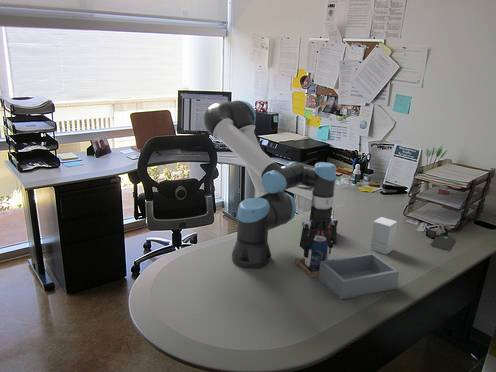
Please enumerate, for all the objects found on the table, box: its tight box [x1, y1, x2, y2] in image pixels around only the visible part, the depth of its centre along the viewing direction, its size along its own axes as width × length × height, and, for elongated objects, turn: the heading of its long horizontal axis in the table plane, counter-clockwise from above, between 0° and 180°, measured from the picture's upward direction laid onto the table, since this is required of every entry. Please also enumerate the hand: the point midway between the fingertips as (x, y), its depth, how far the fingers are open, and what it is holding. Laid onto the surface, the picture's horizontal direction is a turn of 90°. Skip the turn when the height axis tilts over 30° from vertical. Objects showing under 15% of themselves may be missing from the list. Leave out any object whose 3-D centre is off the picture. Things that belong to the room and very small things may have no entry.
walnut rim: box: [294, 257, 319, 278], centre depth 155 cm, size 12×12×1 cm
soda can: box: [308, 235, 328, 272], centre depth 153 cm, size 7×7×12 cm
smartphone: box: [430, 235, 456, 252], centre depth 179 cm, size 8×1×15 cm
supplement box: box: [370, 216, 398, 255], centre depth 169 cm, size 7×7×13 cm
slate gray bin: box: [318, 252, 400, 300], centre depth 144 cm, size 22×14×7 cm, turn 111°
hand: (316, 263), depth 155 cm, fingers closed on soda can, 7 cm apart
